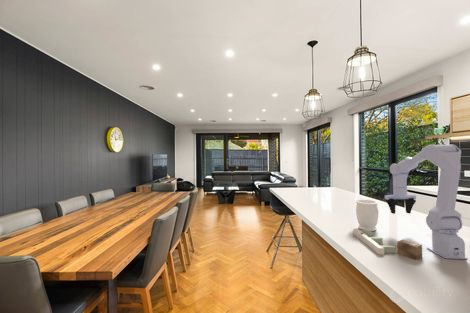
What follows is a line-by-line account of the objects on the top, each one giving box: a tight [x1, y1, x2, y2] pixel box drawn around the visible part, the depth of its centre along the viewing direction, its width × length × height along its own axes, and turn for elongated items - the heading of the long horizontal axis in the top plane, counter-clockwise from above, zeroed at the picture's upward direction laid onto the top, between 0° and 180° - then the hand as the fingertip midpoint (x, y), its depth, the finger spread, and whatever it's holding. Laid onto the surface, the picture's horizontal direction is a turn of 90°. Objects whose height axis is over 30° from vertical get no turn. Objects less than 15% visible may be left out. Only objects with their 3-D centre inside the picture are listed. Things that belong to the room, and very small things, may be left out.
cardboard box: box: [396, 239, 423, 261], centre depth 87 cm, size 6×4×5 cm
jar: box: [355, 199, 379, 232], centre depth 119 cm, size 11×10×15 cm
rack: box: [352, 228, 397, 256], centre depth 100 cm, size 24×8×3 cm, turn 174°
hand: (400, 213), depth 112 cm, fingers open, 7 cm apart
